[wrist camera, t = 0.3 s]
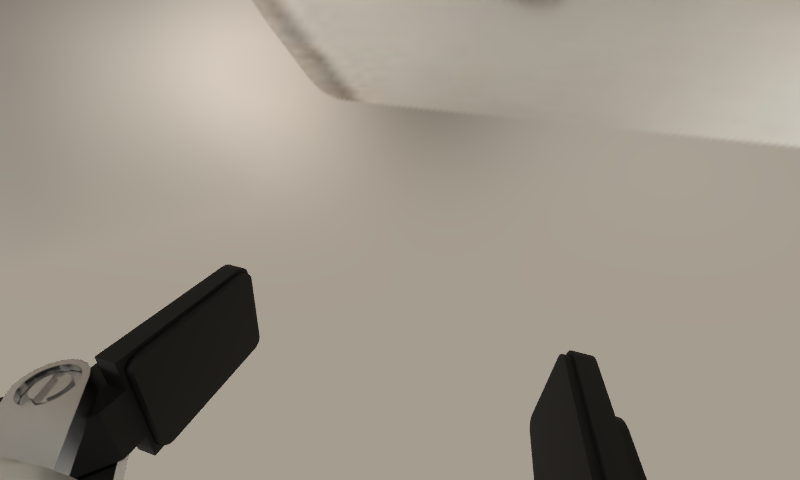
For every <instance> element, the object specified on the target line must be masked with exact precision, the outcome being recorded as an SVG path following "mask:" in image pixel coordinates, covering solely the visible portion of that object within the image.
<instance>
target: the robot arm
mask: <svg viewBox="0 0 800 480" xmlns="http://www.w3.org/2000/svg"><path fill="white" fill-rule="evenodd" d="M258 342H259V330H258V322H257V316H256V308H255V301H254V294H253V287H252V280H251V276H250V275H249V274H248V273H247V270H246V269H244V268H240V267H236V266H232V265H225V266H223V267H221V268H220V269H218V270H217V271H216V272H214V273H213V274H211V275H210V276H208V277H207V278H206V279H204V280H203V281H202V282H200V283H199V284H197V285H196V286H194V287H193V288H191V289H190V290H189V291H187V292H186V293H184V294H183V295H182V296H180V297H179V298H177V299H176V300H175V301H173V302H172V303H171V304H169V305H168V306H166V307H165V308H163V309H162V310H160V311H159V312H158V313H156V314H155V315H153V316H152V317H150V318H149V319H148V320H146V321H145V322H143V323H142V324H140V325H139V326H138V327H136V328H135V329H133V330H132V331H131V332H129V333H128V334H126V335H125V336H124V337H122V338H121V339H119V340H118V341H117V342H115V343H114V344H112V345H111V346H109V347H108V348H106V349H105V350H104V351H102V352H101V353H99V354H98V355H97V356H95V359H96V361H97V364H95V365H94V366H93V367H91V368H90V366H89V364H88V363H87V362H85V361H83V360H78V359H68V360H61V361H57V362H54V363H50V364H47V365H45V366H43V367H40V368H38V369H36V370H34V371H33V372H31V373H29V374H27V375H26V376H24V377H22V378H21V379H20V380H19V381H17V382H16V383H15V384H14V385H12V387H11V388H10V389H9V390H8V392H7V393H6V394H5V396H4V397H2V398H0V480H123V478H124V473H125V469H126V465H127V460H128V455H129V453H131V451H132V450H133V449H134V448H135V447H136V446H137V447H138V449H140V450H142V451H145V452H147V453H150V454H153V455H156V454H157V453H158V452H159V451H160V450H161V448H162V447H163V446H164V445H167V444H170V443H171V442H172V441H173V440H174V439H175V438H176V437H177V436H178V435H179V434H180V433H181V432H182V430H183V429H184V428H185V427H186V426H187V425H188V424H189V423H190V422H191V420H192V419H193V418H194V417H195V416H196V415H197V414H198V412H199V411H200V410H201V409H202V408H203V407H204V406H205V404H206V403H207V402H208V401H209V400H210V399H211V398H212V397H213V395H214V394H215V393H216V392H217V391H218V389H220V387H221V386H222V385H223V384H224V383H225V382H226V381H227V380H228V378H229V377H230V376H231V375H232V374H233V373H234V372H235V370H236V369H237V368H238V367H239V366H240V365H241V364H242V362H243V361H244V360H245V359H246V358H247V357H248V356H249V355H250V353H251V352H252V351H253V350H254V349H255V348H256V346H257V344H258ZM530 436H531V449H532V460H533V472H534V480H647V479H646V476H645V474H644V471H643V468H642V465H641V462H640V460H639V457H638V454H637V452H636V449H635V446H634V443H633V441H632V438H631V435H630V432H629V429H628V428H627V425H626V423H625V422H624V421H623V420H622V419H621V418H619V417H616V416H615V414H614V411H613V408H612V406H611V402H610V399H609V396H608V393H607V391H606V388H605V385H604V381H603V379H602V376H601V373H600V370H599V367H598V364H597V361H596V359H595V357H593V356H591V355H587V354H582V353H579V352H575V351H569V352H568V353H567V354H566V355H564V354H561V355H559V357H558V359H557V361H556V363H555V366H554V368H553V370H552V372H551V374H550V377H549V379H548V381H547V383H546V385H545V388H544V390H543V392H542V394H541V397H540V399H539V401H538V403H537V405H536V407H535V410H534V412H533V414H532V417H531V421H530Z"/></svg>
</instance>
